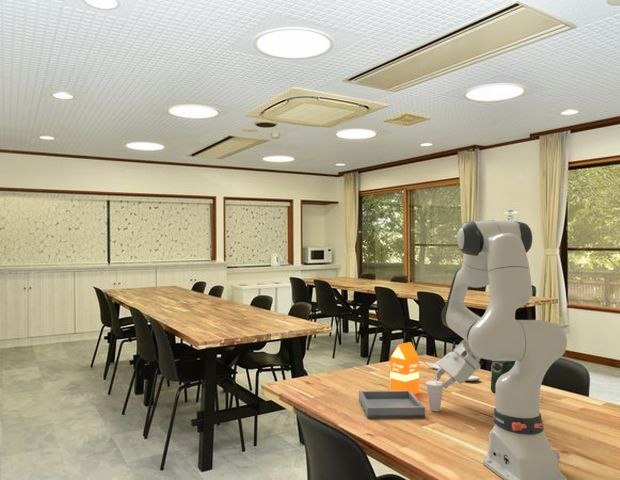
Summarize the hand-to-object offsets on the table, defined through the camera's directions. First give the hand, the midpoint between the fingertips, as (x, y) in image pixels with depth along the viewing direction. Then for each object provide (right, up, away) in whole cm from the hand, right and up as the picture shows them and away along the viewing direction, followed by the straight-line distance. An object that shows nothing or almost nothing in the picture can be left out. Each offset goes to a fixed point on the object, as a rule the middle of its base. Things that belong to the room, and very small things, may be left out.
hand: (439, 382), depth 177 cm
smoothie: (-2, -10, 0) cm, 10 cm away
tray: (-18, -10, +1) cm, 20 cm away
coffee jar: (+31, -10, +20) cm, 39 cm away
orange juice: (-9, -10, +20) cm, 24 cm away
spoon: (+19, -11, +49) cm, 54 cm away
